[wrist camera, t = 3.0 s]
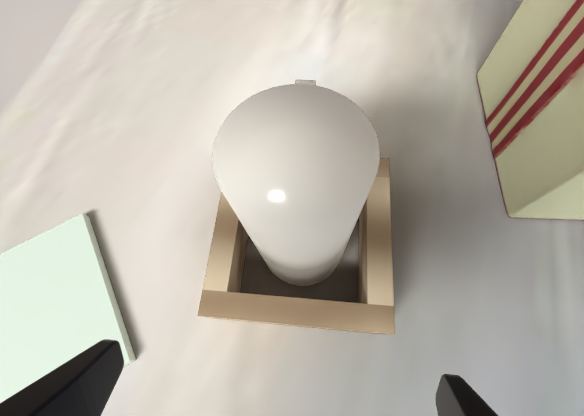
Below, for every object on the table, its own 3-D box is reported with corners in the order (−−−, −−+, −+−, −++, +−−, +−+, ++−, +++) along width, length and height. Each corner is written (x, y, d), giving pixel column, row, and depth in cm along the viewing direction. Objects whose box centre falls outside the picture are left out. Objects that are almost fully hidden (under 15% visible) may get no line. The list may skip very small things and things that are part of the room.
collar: (381, 334, 20) (394, 334, 17) (214, 318, 21) (197, 315, 18) (378, 181, 25) (388, 158, 21) (239, 174, 26) (229, 150, 22)
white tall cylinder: (341, 289, 22) (381, 234, 10) (257, 282, 22) (197, 221, 10) (344, 185, 25) (377, 45, 13) (270, 181, 25) (235, 42, 13)
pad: (136, 360, 21) (129, 360, 20) (-48, 467, 19) (-62, 473, 18) (88, 216, 25) (82, 213, 24) (-65, 293, 23) (-78, 292, 22)
